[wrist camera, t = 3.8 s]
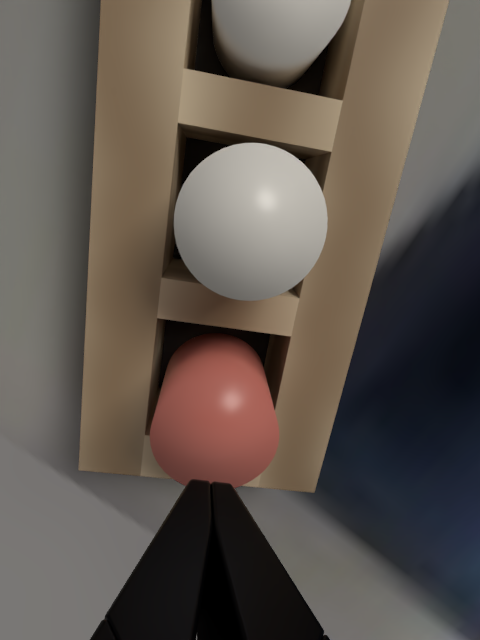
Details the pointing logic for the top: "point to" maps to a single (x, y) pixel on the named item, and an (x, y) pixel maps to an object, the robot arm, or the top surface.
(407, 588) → the top surface
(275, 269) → the plug
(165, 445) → the red plug
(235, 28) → the plug
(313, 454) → the beech block
